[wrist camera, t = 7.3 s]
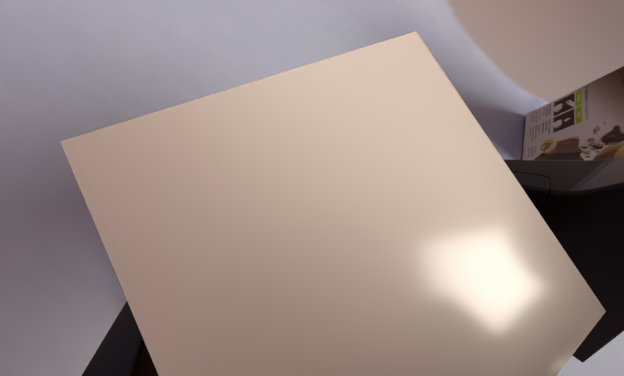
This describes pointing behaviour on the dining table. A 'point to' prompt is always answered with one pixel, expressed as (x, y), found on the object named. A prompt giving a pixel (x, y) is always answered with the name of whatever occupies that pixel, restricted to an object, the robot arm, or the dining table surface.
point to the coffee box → (579, 123)
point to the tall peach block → (331, 230)
